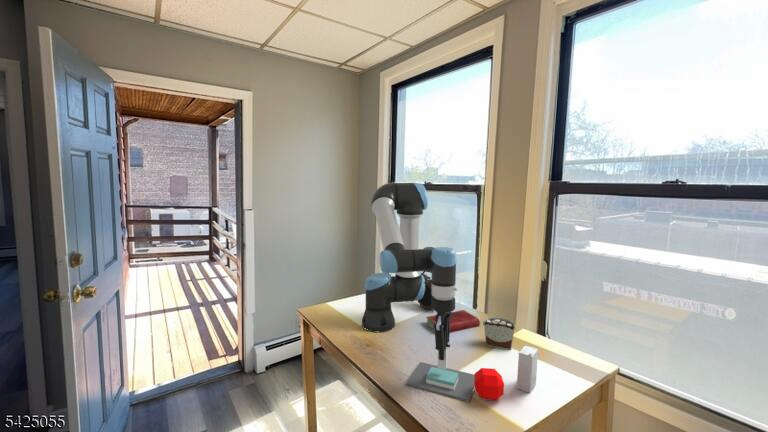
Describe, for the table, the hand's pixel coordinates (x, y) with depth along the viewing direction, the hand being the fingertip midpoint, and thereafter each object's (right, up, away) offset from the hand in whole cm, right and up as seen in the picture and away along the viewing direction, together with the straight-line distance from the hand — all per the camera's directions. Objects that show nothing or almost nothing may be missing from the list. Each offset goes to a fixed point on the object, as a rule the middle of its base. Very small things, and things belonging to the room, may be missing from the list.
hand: (442, 367), depth 107 cm
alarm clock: (+4, +1, +63) cm, 63 cm away
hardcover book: (+13, -1, +44) cm, 45 cm away
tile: (+1, -3, +2) cm, 4 cm away
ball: (+13, -6, -7) cm, 16 cm away
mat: (0, -5, +1) cm, 5 cm away
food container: (+27, -3, +26) cm, 38 cm away
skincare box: (+26, -5, -2) cm, 27 cm away
